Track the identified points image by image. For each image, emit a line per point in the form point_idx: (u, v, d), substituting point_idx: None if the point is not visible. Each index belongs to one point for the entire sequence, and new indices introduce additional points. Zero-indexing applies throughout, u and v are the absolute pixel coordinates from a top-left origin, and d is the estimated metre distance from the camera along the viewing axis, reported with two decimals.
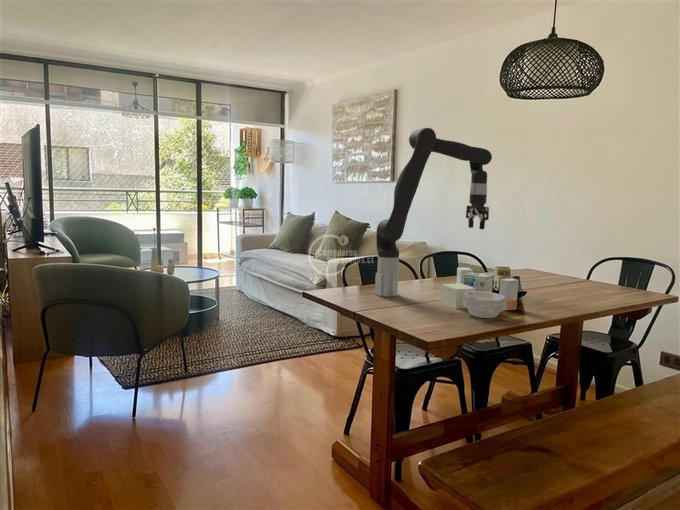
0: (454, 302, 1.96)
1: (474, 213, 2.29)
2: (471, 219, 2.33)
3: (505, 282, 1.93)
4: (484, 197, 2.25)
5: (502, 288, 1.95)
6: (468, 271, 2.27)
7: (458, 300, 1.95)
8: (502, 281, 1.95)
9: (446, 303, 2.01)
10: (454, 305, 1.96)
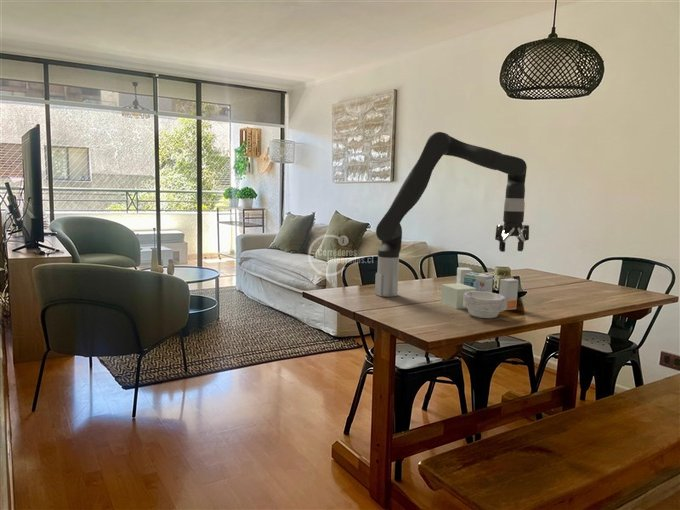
0: (454, 302, 1.96)
1: (513, 234, 1.92)
2: None
3: (505, 282, 1.93)
4: None
5: (502, 288, 1.95)
6: (468, 271, 2.27)
7: (458, 300, 1.95)
8: (502, 281, 1.95)
9: (446, 303, 2.01)
10: (454, 305, 1.96)
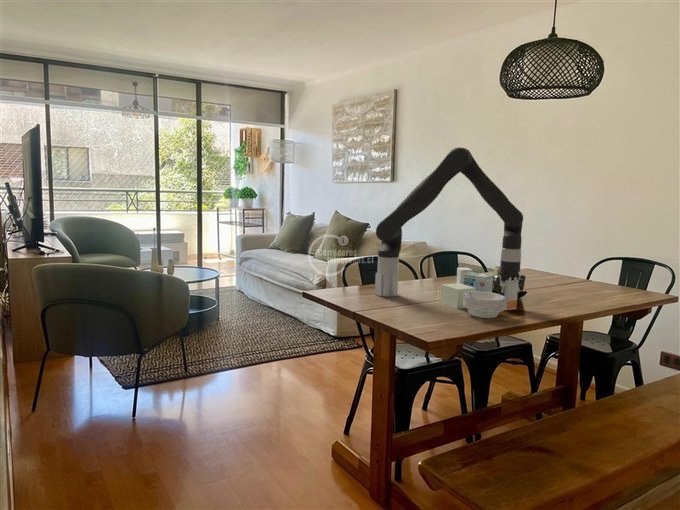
0: (455, 302, 1.96)
1: None
2: None
3: (505, 282, 1.93)
4: None
5: None
6: (468, 271, 2.27)
7: (459, 300, 1.95)
8: (502, 281, 1.95)
9: (446, 303, 2.01)
10: (455, 305, 1.96)
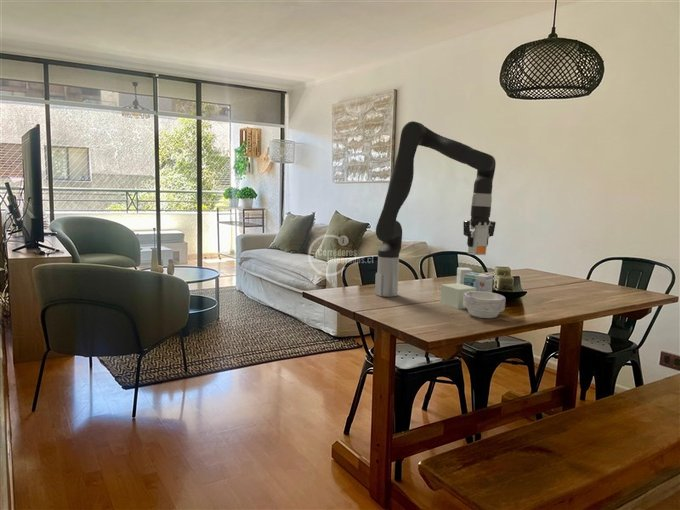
0: (456, 302, 1.96)
1: None
2: None
3: None
4: None
5: None
6: (468, 271, 2.27)
7: (460, 300, 1.95)
8: (472, 226, 1.95)
9: (446, 303, 2.01)
10: (455, 305, 1.96)
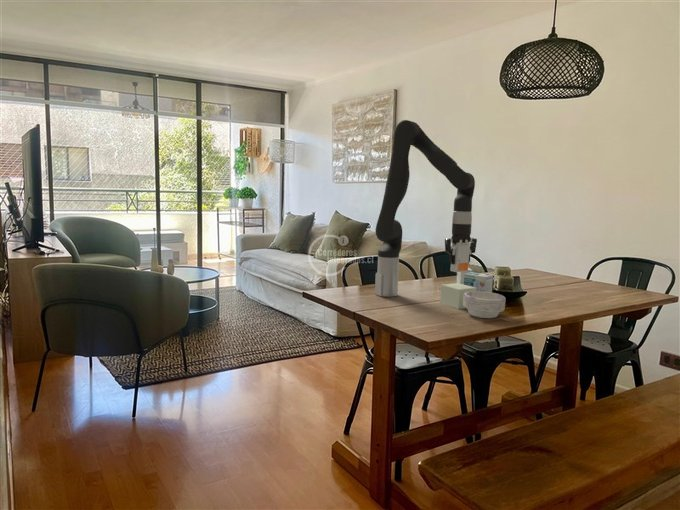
0: (456, 302, 1.95)
1: None
2: None
3: (456, 244, 1.96)
4: None
5: None
6: (468, 271, 2.27)
7: (460, 300, 1.95)
8: (454, 244, 1.98)
9: (447, 303, 2.01)
10: (456, 305, 1.96)
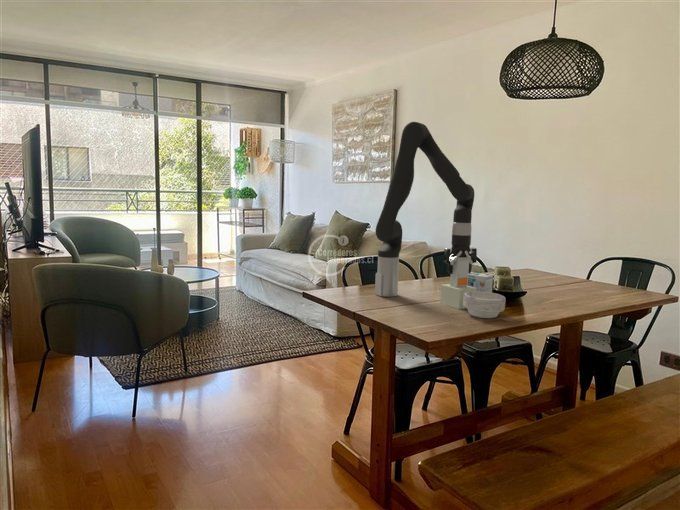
0: (457, 302, 1.95)
1: (460, 256, 1.98)
2: None
3: None
4: None
5: (453, 266, 1.99)
6: None
7: (461, 300, 1.95)
8: None
9: (447, 304, 2.00)
10: (456, 305, 1.96)
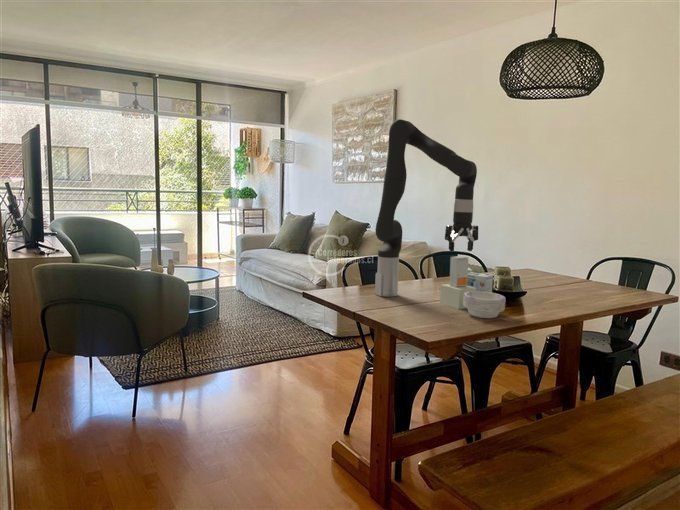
0: (457, 302, 1.95)
1: (462, 234, 1.97)
2: None
3: (455, 259, 1.97)
4: None
5: (452, 266, 1.99)
6: (468, 271, 2.27)
7: (461, 300, 1.95)
8: (452, 258, 1.99)
9: (447, 304, 2.00)
10: (456, 305, 1.96)
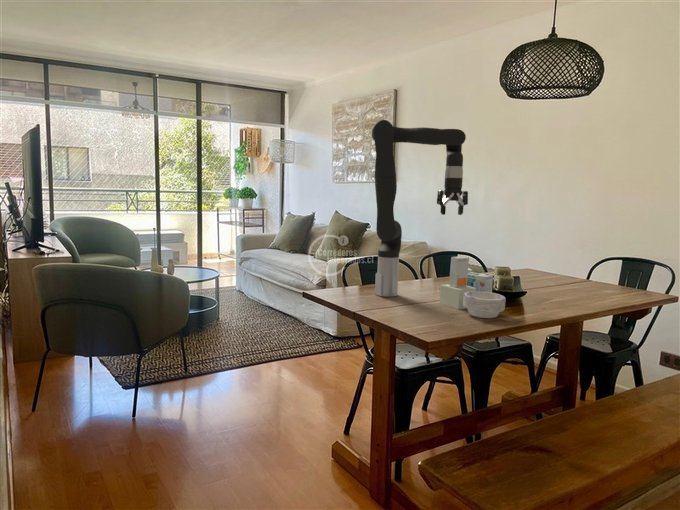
0: (456, 303, 1.95)
1: (452, 198, 2.13)
2: None
3: (455, 260, 1.97)
4: None
5: (453, 266, 1.98)
6: (468, 271, 2.27)
7: (460, 300, 1.94)
8: (453, 259, 1.98)
9: (446, 304, 2.00)
10: (456, 305, 1.95)
